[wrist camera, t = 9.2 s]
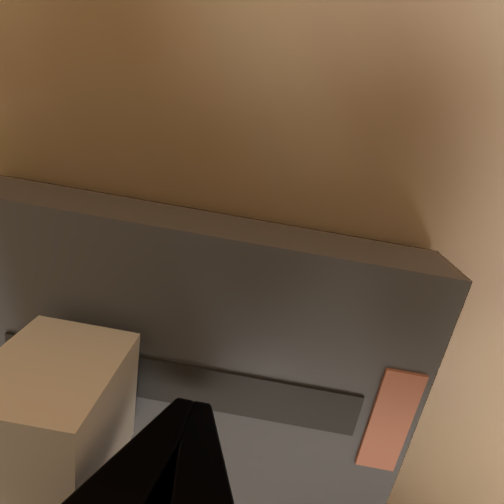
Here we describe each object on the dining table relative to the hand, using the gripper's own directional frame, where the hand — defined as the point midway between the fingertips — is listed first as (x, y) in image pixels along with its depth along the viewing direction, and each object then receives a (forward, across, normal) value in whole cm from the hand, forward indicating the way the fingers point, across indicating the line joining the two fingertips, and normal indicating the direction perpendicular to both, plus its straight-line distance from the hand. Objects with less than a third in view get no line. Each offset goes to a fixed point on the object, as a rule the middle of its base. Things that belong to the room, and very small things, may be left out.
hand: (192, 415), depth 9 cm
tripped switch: (+1, +3, 0) cm, 3 cm away
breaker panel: (+3, 0, +8) cm, 9 cm away
